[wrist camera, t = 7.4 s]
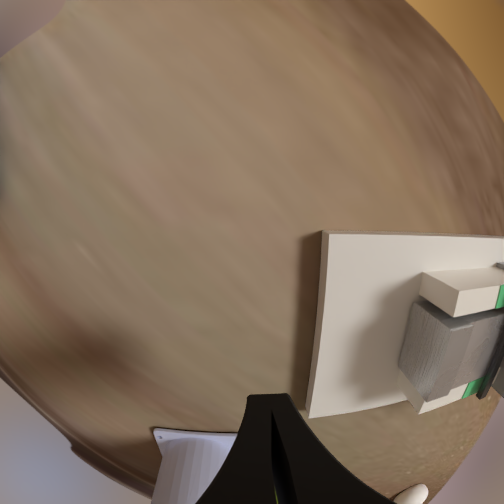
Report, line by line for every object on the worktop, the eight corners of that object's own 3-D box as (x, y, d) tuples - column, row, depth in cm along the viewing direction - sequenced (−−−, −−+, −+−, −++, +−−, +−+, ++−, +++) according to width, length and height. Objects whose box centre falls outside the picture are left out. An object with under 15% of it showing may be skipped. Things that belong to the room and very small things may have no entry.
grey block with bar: (488, 268, 16) (528, 285, 11) (461, 367, 18) (489, 394, 13) (418, 273, 16) (463, 297, 11) (391, 386, 18) (417, 425, 13)
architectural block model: (509, 236, 17) (582, 259, 8) (477, 365, 20) (527, 411, 11) (322, 230, 17) (404, 275, 7) (305, 405, 20) (330, 501, 10)
